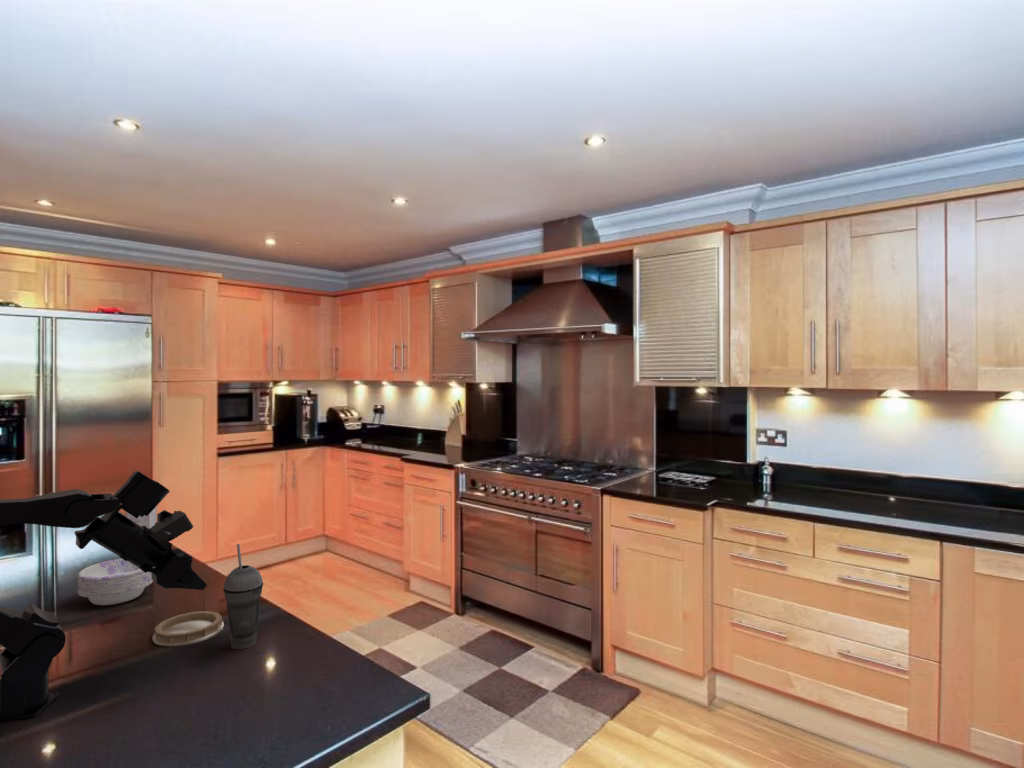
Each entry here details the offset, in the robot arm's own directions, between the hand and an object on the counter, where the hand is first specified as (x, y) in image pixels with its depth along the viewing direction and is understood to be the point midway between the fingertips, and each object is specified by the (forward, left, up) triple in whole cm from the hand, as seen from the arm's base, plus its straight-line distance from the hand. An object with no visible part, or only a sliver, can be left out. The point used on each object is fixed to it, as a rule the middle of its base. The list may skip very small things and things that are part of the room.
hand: (196, 581), depth 109 cm
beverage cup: (+3, -8, -14) cm, 17 cm away
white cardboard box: (+60, +35, -14) cm, 71 cm away
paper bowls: (+35, +30, -14) cm, 49 cm away
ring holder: (+11, +5, -14) cm, 19 cm away
